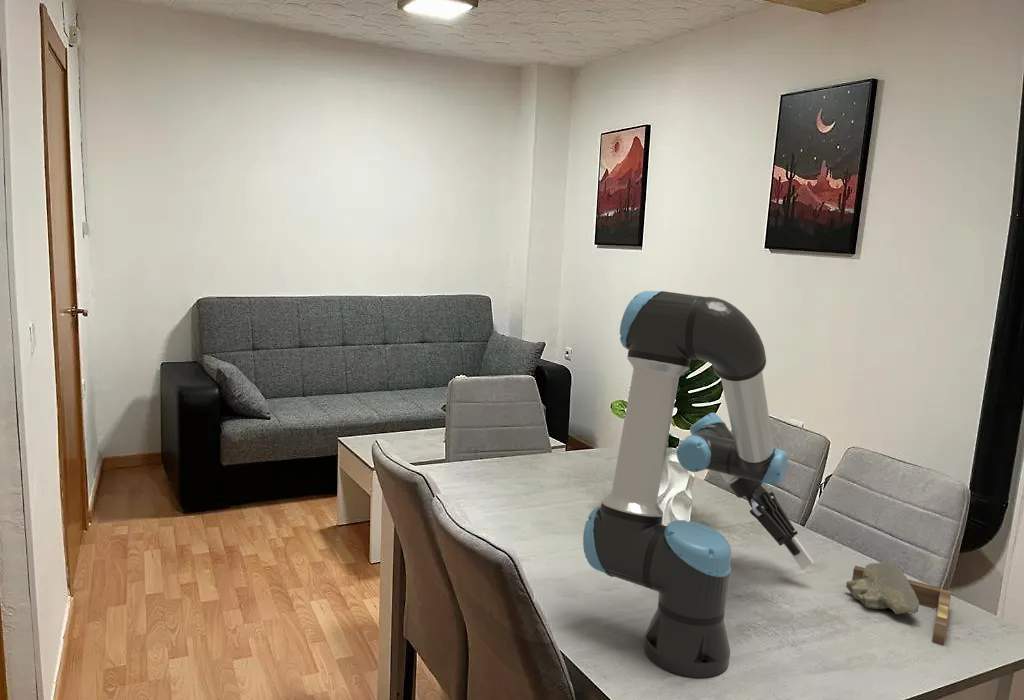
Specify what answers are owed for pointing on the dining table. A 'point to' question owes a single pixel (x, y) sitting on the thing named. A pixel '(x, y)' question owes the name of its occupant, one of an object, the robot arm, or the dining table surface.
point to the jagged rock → (884, 589)
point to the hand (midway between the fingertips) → (808, 565)
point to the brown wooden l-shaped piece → (927, 603)
